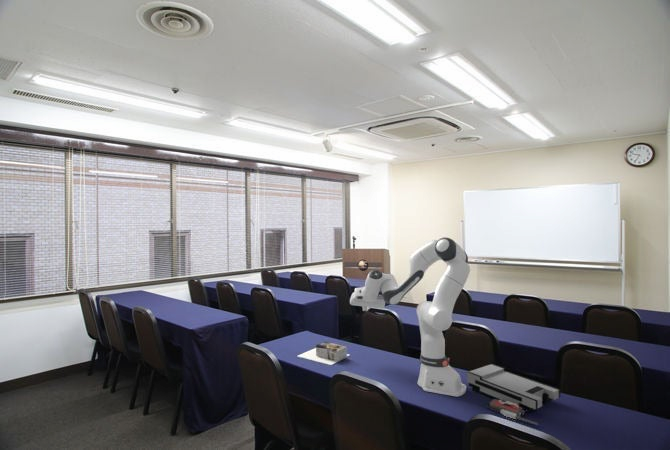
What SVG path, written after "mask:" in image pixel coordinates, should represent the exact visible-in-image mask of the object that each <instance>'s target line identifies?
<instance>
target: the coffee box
mask: <svg viewBox="0 0 670 450" xmlns="http://www.w3.org/2000/svg"><path fill="white" fill-rule="evenodd" d="M315 348H316V356H320V357H323V358H327V359H330V360H334V361H337V363H338V361H339V362H341V361H342V360H344V359H347V354H348V348H347V346H346V345H345V346H344V345H340V344H337V343H332V342H330V341H329V342H328V341H324V342H321V343H318V344H316V345H315ZM340 360H341V361H340Z"/></svg>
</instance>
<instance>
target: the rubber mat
mask: <svg viewBox="0 0 670 450" xmlns="http://www.w3.org/2000/svg"><path fill="white" fill-rule="evenodd" d="M349 356H351V354H349V353H347V357H349ZM296 357H297V358H300V359H303V360H304V359H306V360H309V361H313V362H315V363H316V362H317V363H321V364H324V365H328V366H333V365H335V364H336V363H338V362H341V361H342V360H340V361H338V362H337V361H334V360H330V359H327V358H323V357H320V356H316V347H315V348H314V347H313V349H310V350H308V351H305V352H303V353H301V354H298V355H297V356H296Z"/></svg>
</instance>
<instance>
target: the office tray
mask: <svg viewBox="0 0 670 450" xmlns="http://www.w3.org/2000/svg"><path fill="white" fill-rule="evenodd" d="M506 369H507V368H506V367H504V366H501V365H497V364H495V363H491V364H487V365H484V366H482V367H479V368H475V369H473V370H469V371H467V372H466V383H468V387H471V391H473V392H475V393H477V394H480V395H482V396H485V397H487V398H488V399H489V398H490V399H492V400H493V399H497V400H502V401H503V402H506V401H509V402H512V403H516V404H518V406H519V407H522V408H523V410H524V411H526V410H528V411H529V412H531V411H532V412H533V410H537V409H539V408H541V407H543V403H542V402H544V403H546V404H547V403H550V402H551V401H555V400H557V399H559V398H561V389H560V388H558V387H555V386H553V385H549V384H546V383H543V382H540V381H538V380H535V379H532V378H529V377H526V376H522V375H520V374H516V373H514V372H511V371H508V370H506ZM526 412H527V411H526Z"/></svg>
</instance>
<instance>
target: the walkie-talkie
mask: <svg viewBox="0 0 670 450" xmlns="http://www.w3.org/2000/svg"><path fill="white" fill-rule="evenodd" d="M486 408H488V409H489V410H490V409H491V410H490V411H493V410H494V411H493V412H496V411H497V413H499V412H500V413H499V414H501V415H502V414H503V415H504V416H506V417H505V418H507V417H510V418H513V419H516V420H517V419H518V420H517V421H521V420H522V421H521V422H524V421H525V423H527V422H529V423H528V424H533V425H536V426H539V423H538V422H535V421H532V420H529V419H526V418H524V417H521V416H524V415H525V412H524V410H523V408H522V407H519V406H518V404H516V403H512V402H509V401H506V402H503V401H502V400H497V399H492V400H491V401H489V404H486ZM521 414H522V415H521ZM503 415H502V416H503ZM520 415H521V416H520ZM504 416H503V417H504ZM510 418H509V419H510ZM513 419H512V420H513Z"/></svg>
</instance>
